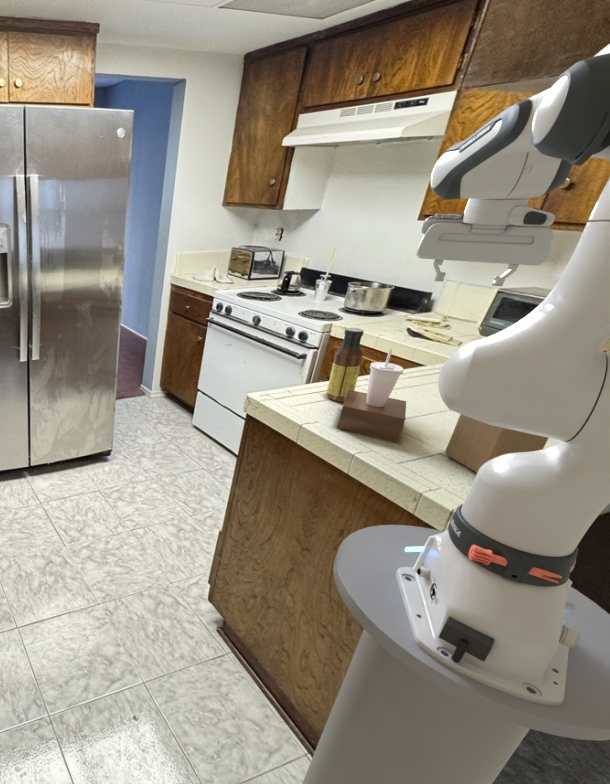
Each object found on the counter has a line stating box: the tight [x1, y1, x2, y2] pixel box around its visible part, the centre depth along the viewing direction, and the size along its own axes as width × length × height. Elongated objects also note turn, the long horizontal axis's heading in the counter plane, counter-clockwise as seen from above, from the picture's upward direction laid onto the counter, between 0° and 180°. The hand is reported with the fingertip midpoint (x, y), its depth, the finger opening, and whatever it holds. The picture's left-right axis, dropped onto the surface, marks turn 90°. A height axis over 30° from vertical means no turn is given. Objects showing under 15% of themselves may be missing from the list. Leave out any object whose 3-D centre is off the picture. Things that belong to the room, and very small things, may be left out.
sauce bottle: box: [326, 327, 365, 403], centre depth 126 cm, size 6×6×20 cm
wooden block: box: [445, 413, 549, 474], centre depth 95 cm, size 10×10×20 cm
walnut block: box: [336, 390, 407, 443], centre depth 114 cm, size 12×12×6 cm
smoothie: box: [366, 348, 405, 407], centre depth 110 cm, size 6×6×14 cm
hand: (466, 283), depth 100 cm, fingers open, 8 cm apart
